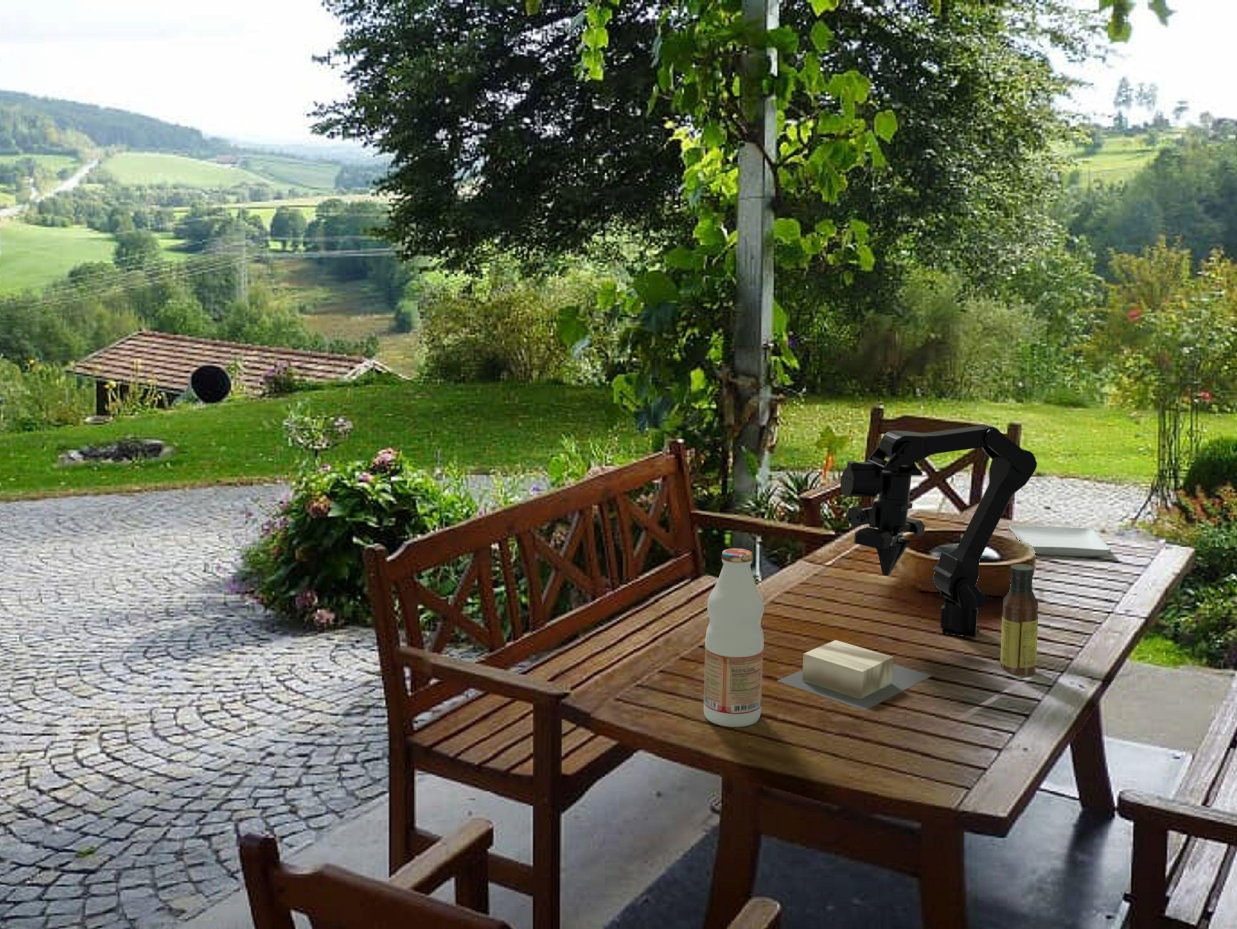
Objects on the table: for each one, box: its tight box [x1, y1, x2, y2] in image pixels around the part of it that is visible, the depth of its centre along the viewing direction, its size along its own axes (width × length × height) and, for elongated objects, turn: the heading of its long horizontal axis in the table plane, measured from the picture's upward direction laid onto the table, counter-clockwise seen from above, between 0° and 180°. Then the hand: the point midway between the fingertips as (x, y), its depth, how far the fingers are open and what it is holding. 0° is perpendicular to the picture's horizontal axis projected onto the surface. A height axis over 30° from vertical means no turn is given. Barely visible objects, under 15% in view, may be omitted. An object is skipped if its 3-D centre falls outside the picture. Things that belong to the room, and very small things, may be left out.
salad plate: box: [1008, 525, 1111, 558], centre depth 299 cm, size 21×21×3 cm
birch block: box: [802, 639, 894, 700], centre depth 205 cm, size 5×12×10 cm
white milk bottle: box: [703, 547, 765, 728], centre depth 189 cm, size 9×9×28 cm
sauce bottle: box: [999, 563, 1039, 677], centre depth 211 cm, size 7×6×20 cm
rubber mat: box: [776, 663, 932, 711], centre depth 208 cm, size 22×18×1 cm
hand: (885, 575), depth 228 cm, fingers closed
